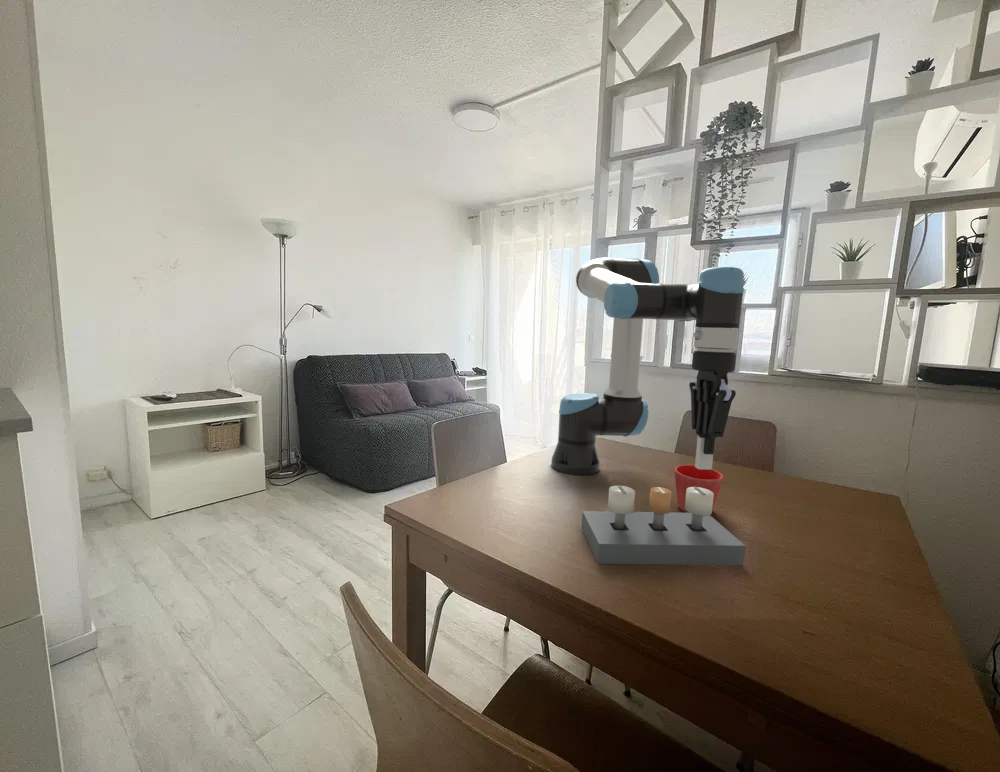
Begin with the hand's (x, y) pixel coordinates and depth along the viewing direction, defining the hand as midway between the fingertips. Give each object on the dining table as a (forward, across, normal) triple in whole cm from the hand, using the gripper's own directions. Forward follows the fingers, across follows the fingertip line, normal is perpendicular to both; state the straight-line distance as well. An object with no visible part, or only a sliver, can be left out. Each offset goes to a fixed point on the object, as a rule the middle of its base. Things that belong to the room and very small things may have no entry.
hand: (703, 468), depth 84 cm
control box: (+17, 0, -8) cm, 19 cm away
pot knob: (+13, 0, -8) cm, 15 cm away
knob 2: (+13, 0, 0) cm, 13 cm away
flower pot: (+17, -18, +9) cm, 27 cm away
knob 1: (+13, 0, -16) cm, 21 cm away
